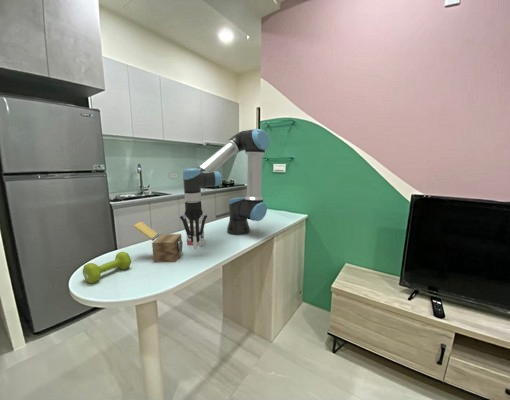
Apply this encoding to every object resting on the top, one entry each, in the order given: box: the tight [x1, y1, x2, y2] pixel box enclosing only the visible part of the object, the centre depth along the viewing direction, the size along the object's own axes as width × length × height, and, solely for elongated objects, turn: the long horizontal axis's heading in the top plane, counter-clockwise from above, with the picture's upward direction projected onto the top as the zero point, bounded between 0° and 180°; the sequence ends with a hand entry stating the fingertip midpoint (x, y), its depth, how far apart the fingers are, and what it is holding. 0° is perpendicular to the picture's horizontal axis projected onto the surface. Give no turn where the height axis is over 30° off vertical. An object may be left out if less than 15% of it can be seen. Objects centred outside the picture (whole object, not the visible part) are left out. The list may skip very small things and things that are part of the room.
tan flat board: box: [132, 221, 160, 242], centre depth 106 cm, size 11×7×1 cm
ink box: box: [186, 222, 205, 247], centre depth 125 cm, size 8×5×12 cm, turn 73°
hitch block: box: [151, 233, 183, 263], centre depth 108 cm, size 10×12×10 cm
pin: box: [177, 239, 183, 252], centre depth 108 cm, size 12×6×6 cm, turn 94°
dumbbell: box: [82, 251, 132, 284], centre depth 92 cm, size 16×8×7 cm, turn 151°
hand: (195, 248), depth 110 cm, fingers closed
